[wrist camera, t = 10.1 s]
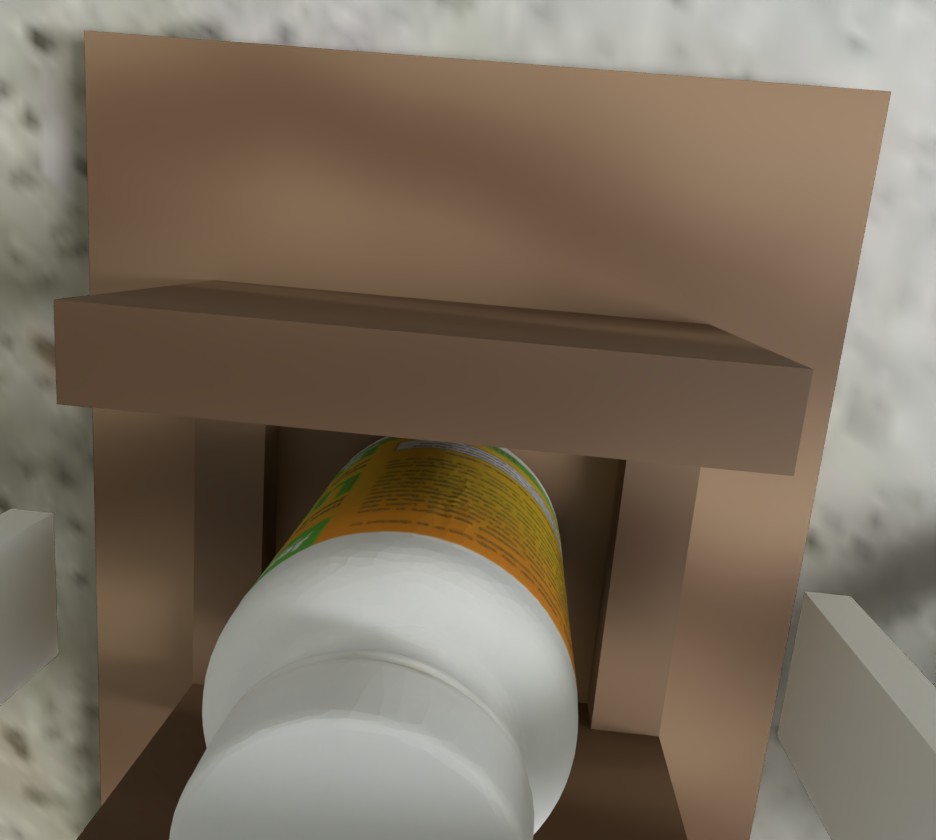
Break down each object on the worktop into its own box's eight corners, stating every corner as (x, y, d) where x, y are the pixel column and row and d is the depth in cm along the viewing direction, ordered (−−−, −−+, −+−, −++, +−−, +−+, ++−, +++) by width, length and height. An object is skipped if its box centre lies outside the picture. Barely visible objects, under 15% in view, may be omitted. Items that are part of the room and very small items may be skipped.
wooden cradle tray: (719, 913, 21) (816, 1242, 14) (121, 840, 21) (-65, 1118, 15) (869, 101, 16) (1119, -2, 9) (109, 42, 17) (-166, -92, 10)
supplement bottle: (359, 388, 17) (157, 580, 8) (594, 467, 17) (678, 755, 8) (294, 603, 19) (55, 991, 9) (513, 676, 19) (501, 1137, 9)
